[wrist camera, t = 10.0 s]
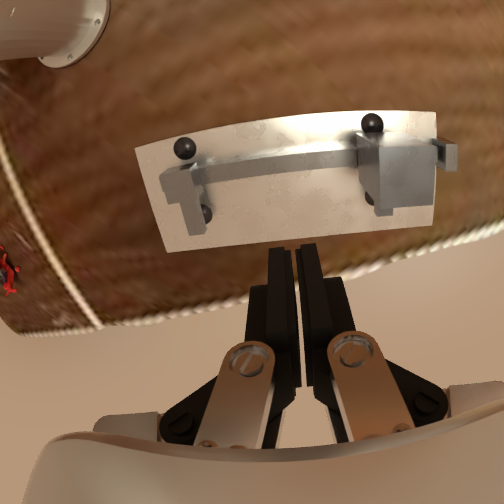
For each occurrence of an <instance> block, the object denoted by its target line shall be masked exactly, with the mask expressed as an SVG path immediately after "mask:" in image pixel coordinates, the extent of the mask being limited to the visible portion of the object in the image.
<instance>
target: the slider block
mask: <svg viewBox="0 0 504 504" xmlns="http://www.w3.org/2000/svg"><path fill="white" fill-rule="evenodd" d="M356 139H357V152H358V169H359V182H360V184H361V185H362V186H363V187H364V189H365V190H366V191H367V193H368V194H369V195H370V196H371V198H372V199H373V200H374V213H375V214H376V216H377V217H381V216H393V208H400V207H413V206H427V205H433V199H434V184H435V146H433V145H431V144H429V143H427V142H425V141H422V140H420V139H418V138H415V137H413V136H411V135H408V134H406V133H404V132H377V133H356Z"/></svg>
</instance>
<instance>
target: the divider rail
mask: <svg viewBox="0 0 504 504" xmlns="http://www.w3.org/2000/svg"><path fill="white" fill-rule="evenodd" d="M429 144H431V143H429ZM431 145H433V146H435V165H436V166H438V167H439V168H441V169H442V170H444V171H457V155H458V144H456V143H454V142H451V141H449V140H446V139H444V138H432V144H431ZM350 166H358V152H357V145H343V146H330V147H318V148H308V149H298V150H289V151H281V152H273V153H266V154H258V155H252V156H245V157H239V158H232V159H226V160H221V161H215V162H210V163H204V164H199V165H197V162H195V163H190V164H185V165H180V166H176V167H171V168H168V169H166V170H165V171H164V172H163V173H161V174H160V175H159V177H158V178H159V181H160V185H161V188H162V191H163V192H164V193H165V197H166V200H167V203H168V205H169V204H175V203H180V207H181V210H182V214H183V217H184V221H185V224H186V227H187V231H188V234H189V236H194V235H201V234H205V232H206V230H207V227H206V223H205V219H204V217H205V213H204V212H202V208H201V204H200V200H199V197H200V195H201V194H202V193H203V186H202V185H204V184H210V183H216V182H222V181H228V180H235V179H242V178H248V177H256V176H263V175H271V174H279V173H287V172H296V171H305V170H315V169H326V168H337V167H350Z"/></svg>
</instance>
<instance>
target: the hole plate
mask: <svg viewBox="0 0 504 504" xmlns="http://www.w3.org/2000/svg"><path fill="white" fill-rule="evenodd" d="M377 132H404V133H406V134H408V135H411V136H413V137H415V138H418V139H420V140H422V141H425V142H427V143H431V144H432V138H437V136H436V112H431V111H409V110H362V111H339V112H324V113H312V114H301V115H292V116H284V117H276V118H268V119H261V120H255V121H248V122H242V123H237V124H231V125H226V126H220V127H215V128H210V129H206V130H201V131H196V132H192V133H188V134H183V135H179V136H175V137H171V138H167V139H164V140H160V141H156V142H152V143H149V144H145V145H142V146H138V147H136V148H135V152H136V156H137V159H138V163H139V166H140V170H141V173H142V177H143V180H144V183H145V187H146V190H147V193H148V197H149V200H150V203H151V206H152V209H153V212H154V215H155V218H156V221H157V224H158V227H159V230H160V233H161V236H162V239H163V242H164V245H165V248H166V251H167V253H169V252H177V251H186V250H195V249H204V248H213V247H222V246H231V245H241V244H250V243H259V242H269V241H278V240H287V239H297V238H307V237H316V236H326V235H336V234H346V233H356V232H366V231H376V230H387V229H397V228H408V227H418V226H429V225H432V221H433V211H434V200H435V186H436V165H435V184H434V199H433V205H427V206H413V207H400V208H393V216H381V217H377V216H376V214H375V213H374V200H373V199H372V198H371V196H370V195H369V194H368V193H367V191H366V190H365V189H364V187H363V186H362V185H361V184H360V182H359V169H358V166H350V167H337V168H326V169H315V170H305V171H296V172H287V173H279V174H271V175H263V176H256V177H248V178H242V179H235V180H228V181H222V182H216V183H210V184H204V185H202V186H203V193H202V194H201V195H200V197H199V200H200V204H201V208H202V212H204V213H205V217H204V219H205V223H206V227H207V230H206V232H205V234H201V235H194V236H189V234H188V231H187V227H186V224H185V221H184V217H183V214H182V210H181V207H180V203H175V204H169V205H168V203H167V200H166V197H165V193H164V192H163V191H162V188H161V185H160V181H159V178H158V177H159V175H160V174H161V173H163V172H164V171H165V170H166V169H168V168H171V167H176V166H180V165H185V164H190V163H195V162H197V165H199V164H204V163H210V162H215V161H221V160H226V159H232V158H239V157H245V156H252V155H258V154H266V153H273V152H281V151H289V150H298V149H308V148H318V147H330V146H343V145H357V139H356V133H377Z"/></svg>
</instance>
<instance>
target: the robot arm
mask: <svg viewBox="0 0 504 504" xmlns="http://www.w3.org/2000/svg"><path fill="white" fill-rule="evenodd" d="M109 10H110V0H0V60H9V59H19V58H32V57H38V59H39V60H40V62H41V63H43V64H44V65H45V66H48V67H52V68H60V67H66V66H69V65H71V64H73V63H75V62H77V61H78V60H80V59H81V58H82V57H84V56H85V55H86V54H87V53H88V52H89V51H90V50H91V49H92V47H93V46H94V45H95V44H96V42H97V41H98V39H99V37H100V36H101V34H102V32H103V30H104V28H105V26H106V23H107V20H108V16H109ZM295 253H296V262H297V272H298V282H299V292H300V302H301V313H302V324H303V325H302V326H303V338H304V351H305V364H306V379H307V387H309V386H313V391H314V396H315V398H316V399H317V400H319V401H320V402H322V403H323V404H325V409H326V413H327V417H328V421H329V424H330V428H331V432H332V436H333V440H334V444H331V445H324V446H314V447H301V448H283V449H278V447H279V442H280V437H281V432H282V427H283V422H284V417H285V408H286V407H287V406H288V405H289V404H290V403H291V402H292V401H293V400H294V399H295V397H294V396H296V391H295V390H296V388H297V387H302V384H301V363H300V346H299V329H298V315H297V304H296V295H295V285H294V276H293V268H292V260H291V251H290V250H286V251H285V250H284V247H277V248H269V258H268V285H258V286H251V288H250V295H249V304H248V314H247V322H246V331H245V341H244V342H243V343H239V344H237V345H236V346H234V347H232V348H231V349H230V350H229V351H228V352H227V354H226V356H225V357H224V360H223V363H222V365H221V368H220V371H219V374H218V375H217V376H216V377H215V378H214V379H212V380H210V381H209V382H208V383H206V384H205V385H203V386H202V387H201V388H199V389H198V390H196V391H195V392H194V393H192V394H191V395H189V396H188V397H186V398H185V399H184V400H182V401H181V402H179V403H178V404H176V405H175V406H173V407H172V408H170V409H169V410H168V411H167V412H166V413H163V414H159V413H158V412H147V413H136V414H121V415H107V416H103V417H102V418H100V419H99V420H98V421H97V422H96V423H95V425H94V428H93V432H86V431H84V432H74V433H68V434H64V435H60V436H58V437H56V438H53V439H52V440H50V441H49V442H48V443H47V444H46V445H45V446H44V448H43V449H42V451H41V453H40V455H39V456H38V458H37V461H36V463H35V465H34V468H33V470H32V473H31V475H30V478H29V481H28V485H27V488H26V491H25V494H24V498H23V502H22V504H504V382H502V381H492V382H483V383H474V384H464V385H453V386H452V385H451V386H449V387H448V388H447V389H441V388H440V387H438V386H437V385H435V384H433V383H431V382H429V381H427V380H425V379H423V378H421V377H419V376H417V375H415V374H414V373H412V372H410V371H408V370H406V369H404V368H402V367H400V366H398V365H396V364H394V363H392V362H390V361H388V360H387V359H385V358H384V356H383V354H382V352H381V350H380V348H379V346H378V344H377V343H376V341H375V340H374V338H373V337H371V336H370V335H368V334H366V333H364V332H360V331H356V329H355V325H354V321H353V317H352V313H351V310H350V306H349V303H348V298H347V295H346V291H345V288H344V284H343V281H342V278H341V276H340V277H332V278H323V274H322V270H321V265H320V261H319V256H318V252H317V247H316V243H312V244H303V245H301V249H295Z"/></svg>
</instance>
